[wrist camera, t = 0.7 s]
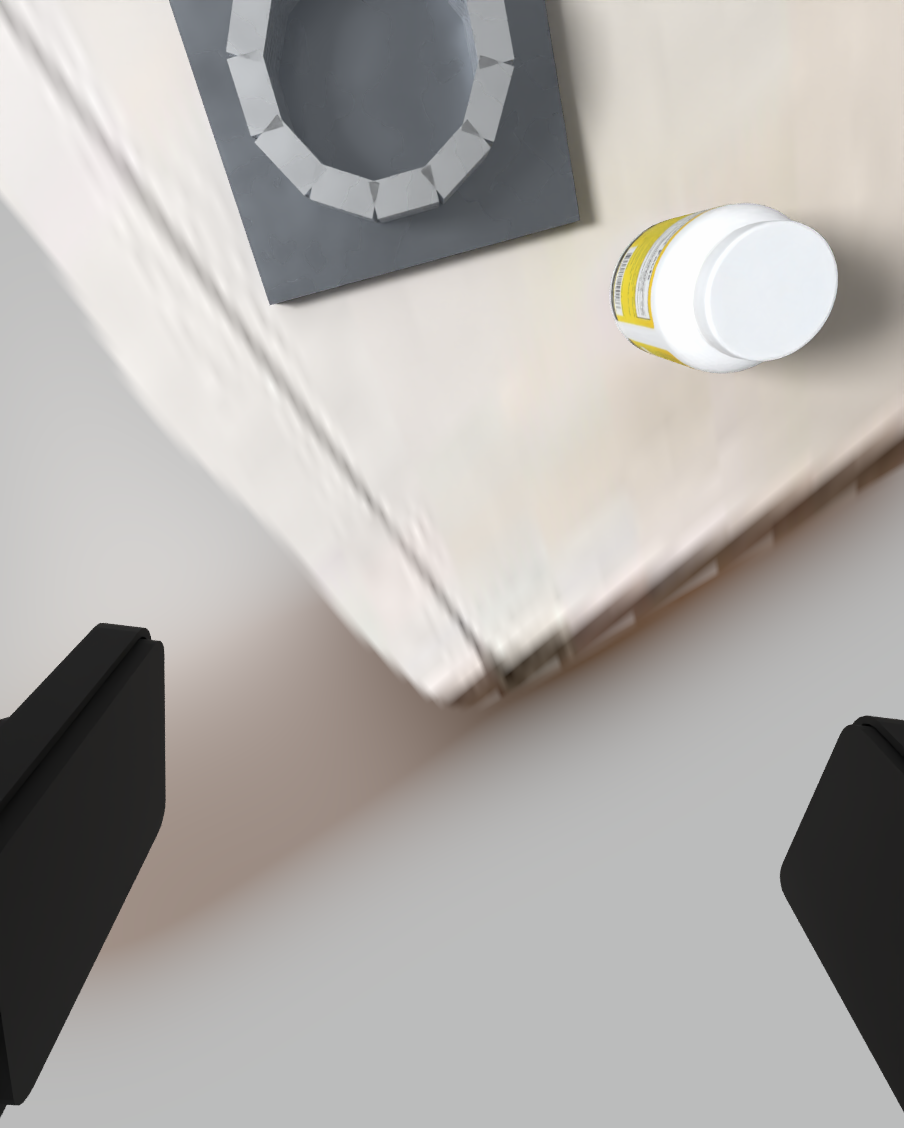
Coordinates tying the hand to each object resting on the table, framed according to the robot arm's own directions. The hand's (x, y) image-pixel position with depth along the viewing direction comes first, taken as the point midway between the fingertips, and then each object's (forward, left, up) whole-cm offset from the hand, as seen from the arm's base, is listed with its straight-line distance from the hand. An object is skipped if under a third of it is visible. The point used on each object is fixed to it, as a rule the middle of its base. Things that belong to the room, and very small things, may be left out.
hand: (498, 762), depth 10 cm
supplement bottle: (-10, -3, -24) cm, 27 cm away
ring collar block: (0, -13, -24) cm, 27 cm away
